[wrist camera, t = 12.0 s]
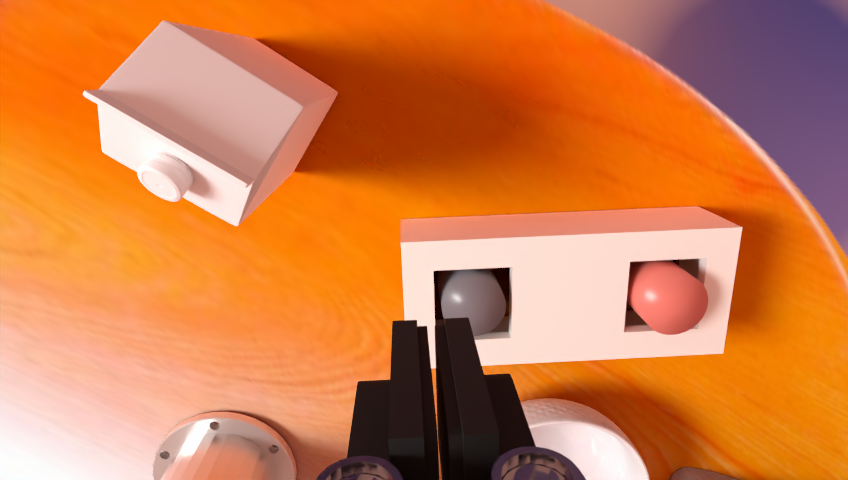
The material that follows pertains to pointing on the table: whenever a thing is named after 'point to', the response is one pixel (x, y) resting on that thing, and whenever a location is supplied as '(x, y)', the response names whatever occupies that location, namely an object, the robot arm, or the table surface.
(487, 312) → the grey rounded cylinder
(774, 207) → the table surface
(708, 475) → the hip flask
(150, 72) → the milk carton
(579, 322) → the box
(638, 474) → the cereal bowl
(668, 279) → the red plunger
